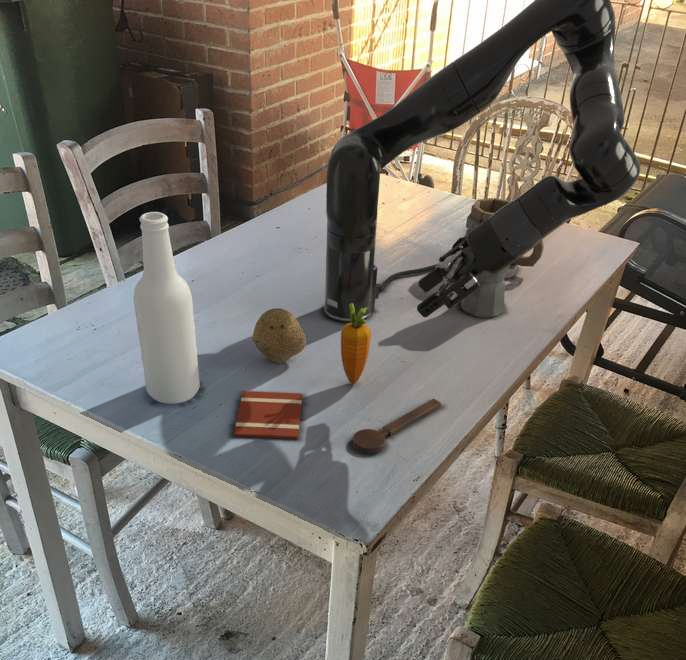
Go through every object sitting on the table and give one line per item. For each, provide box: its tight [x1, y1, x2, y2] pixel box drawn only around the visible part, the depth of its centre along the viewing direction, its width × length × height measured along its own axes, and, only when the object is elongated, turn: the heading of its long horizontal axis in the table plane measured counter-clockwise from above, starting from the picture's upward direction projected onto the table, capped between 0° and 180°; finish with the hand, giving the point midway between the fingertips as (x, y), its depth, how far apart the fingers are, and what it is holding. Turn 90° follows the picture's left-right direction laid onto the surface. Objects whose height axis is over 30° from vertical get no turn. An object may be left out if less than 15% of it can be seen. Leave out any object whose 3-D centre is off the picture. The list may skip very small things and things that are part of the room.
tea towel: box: [233, 390, 303, 440], centre depth 123 cm, size 10×12×1 cm
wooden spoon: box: [352, 398, 442, 455], centre depth 122 cm, size 19×5×1 cm, turn 134°
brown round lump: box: [252, 307, 307, 364], centre depth 134 cm, size 9×9×10 cm
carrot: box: [340, 303, 372, 385], centre depth 127 cm, size 5×5×15 cm
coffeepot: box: [451, 236, 510, 318], centre depth 150 cm, size 15×9×18 cm, turn 110°
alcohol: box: [133, 211, 201, 405], centre depth 118 cm, size 9×9×30 cm
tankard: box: [465, 197, 545, 279], centre depth 165 cm, size 20×13×15 cm, turn 68°
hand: (420, 299), depth 120 cm, fingers open, 8 cm apart
